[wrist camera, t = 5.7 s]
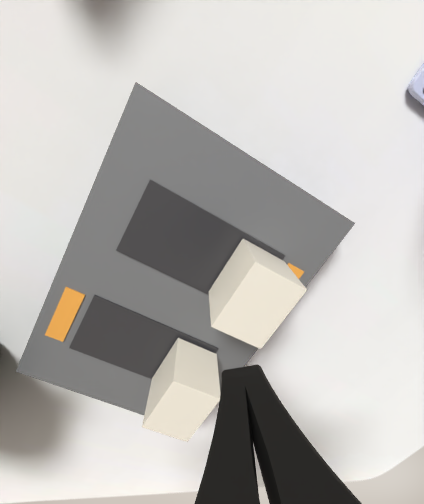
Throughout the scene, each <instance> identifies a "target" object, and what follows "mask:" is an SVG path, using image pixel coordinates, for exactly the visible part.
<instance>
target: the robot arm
mask: <svg viewBox="0 0 424 504" xmlns="http://www.w3.org/2000/svg"><path fill="white" fill-rule="evenodd" d="M423 89H424V64H423V65H422V66H421V68H420V69H419V71H418V72H417V73H416V75H415V76H414V78H413V79H412V80H411V82H410V84H409V87H408V90H409V93H410V94H411V95H412V96H413V97H414V98H415V99H416V100H418V101H419V102H420V103H421V104H422V105H423V106H424V94H423ZM253 443H254V447H255V451H256V455H257V458H258V462H259V466H260V469H261V473H262V477H263V481H264V484H265V488H266V491H267V495H268V499H269V503H270V504H361V503H360V501H359V500H358V499H357V498H356V497H355V496H354V495H353V494H352V492H351V491H350V490H349V489H348V488H347V487H346V486H345V484H344V483H343V482H342V481H341V480H340V479H339V478H338V476H337V475H336V474H335V473H334V472H333V471H332V469H331V468H330V467H329V466H328V465H327V463H326V462H325V461H324V460H323V458H322V457H321V456H320V455H319V453H318V452H317V451H316V450H315V448H314V447H313V446H312V444H311V443H310V442H309V441H308V439H307V438H306V437H305V435H304V434H303V433H302V431H301V430H300V429H299V427H298V426H297V425H296V423H295V422H294V420H293V419H292V417H291V416H290V415H289V413H288V412H287V410H286V409H285V407H284V406H283V404H282V403H281V401H280V400H279V398H278V397H277V395H276V394H275V392H274V390H273V389H272V387H271V385H270V384H269V382H268V380H267V378H266V376H265V374H264V372H263V370H262V368H261V367H260V366H259V365H252V366H246V367H240V368H233V369H227V370H224V371H223V372H222V383H221V395H220V402H219V409H218V414H217V419H216V425H215V430H214V435H213V439H212V443H211V447H210V451H209V455H208V459H207V463H206V467H205V470H204V474H203V478H202V481H201V484H200V488H199V491H198V494H197V497H196V501H195V504H260V501H259V494H258V485H257V476H256V466H255V457H254V448H253Z"/></svg>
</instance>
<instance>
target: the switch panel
mask: <svg viewBox="0 0 424 504" xmlns="http://www.w3.org/2000/svg"><path fill="white" fill-rule="evenodd" d="M354 224H355V223H354V222H352V221H351V220H349V219H348V218H346V217H345V216H343V215H341V214H340V213H338V212H337V211H335V210H334V209H332V208H331V207H329V206H327V205H326V204H324V203H323V202H321V201H320V200H318V199H317V198H315V197H313V196H312V195H310V194H309V193H307V192H306V191H304V190H303V189H301V188H300V187H298V186H296V185H295V184H293V183H292V182H290V181H289V180H287V179H286V178H284V177H282V176H281V175H279V174H278V173H276V172H275V171H273V170H272V169H270V168H268V167H267V166H265V165H264V164H262V163H261V162H259V161H258V160H256V159H254V158H253V157H251V156H250V155H248V154H247V153H245V152H244V151H242V150H241V149H239V148H237V147H236V146H234V145H233V144H231V143H230V142H228V141H227V140H225V139H223V138H222V137H220V136H219V135H217V134H216V133H214V132H213V131H211V130H209V129H208V128H206V127H205V126H203V125H202V124H200V123H199V122H197V121H195V120H194V119H192V118H191V117H189V116H188V115H186V114H185V113H183V112H182V111H180V110H178V109H177V108H175V107H174V106H172V105H171V104H169V103H168V102H166V101H164V100H163V99H161V98H160V97H158V96H157V95H155V94H154V93H152V92H150V91H149V90H147V89H146V88H144V87H143V86H141V85H140V84H138V83H137V82H136V83H135V85H134V88H133V90H132V92H131V95H130V97H129V100H128V102H127V104H126V107H125V109H124V112H123V114H122V116H121V119H120V121H119V124H118V126H117V129H116V131H115V133H114V136H113V138H112V141H111V143H110V145H109V148H108V150H107V153H106V155H105V157H104V160H103V162H102V165H101V167H100V170H99V172H98V174H97V177H96V179H95V182H94V184H93V186H92V189H91V191H90V194H89V196H88V198H87V201H86V203H85V206H84V208H83V211H82V213H81V215H80V218H79V220H78V223H77V225H76V227H75V230H74V232H73V235H72V237H71V239H70V242H69V244H68V247H67V249H66V252H65V254H64V256H63V259H62V261H61V264H60V266H59V268H58V271H57V273H56V276H55V278H54V280H53V283H52V285H51V288H50V290H49V293H48V295H47V297H46V300H45V302H44V305H43V307H42V309H41V312H40V314H39V317H38V319H37V321H36V324H35V326H34V329H33V331H32V334H31V336H30V338H29V341H28V343H27V346H26V348H25V350H24V353H23V355H22V358H21V360H20V362H19V365H18V367H17V370H16V372H19V373H21V374H24V375H27V376H30V377H33V378H36V379H39V380H42V381H45V382H48V383H51V384H54V385H57V386H60V387H63V388H65V389H68V390H71V391H74V392H77V393H80V394H83V395H86V396H89V397H92V398H95V399H98V400H101V401H104V402H107V403H110V404H112V405H115V406H118V407H121V408H124V409H127V410H130V411H133V412H136V413H139V414H142V415H145V410H146V405H147V400H148V396H149V391H150V386H151V381H152V378H153V376H154V374H155V373H156V371H157V370H158V368H159V367H160V365H161V364H162V362H163V360H164V359H165V357H166V356H167V354H168V353H169V351H170V350H171V348H172V346H173V345H174V343H175V342H176V340H177V339H178V338H180V339H182V340H185V341H187V342H189V343H192V344H194V345H196V346H199V347H201V348H203V349H206V350H208V351H210V352H213V353H215V354H217V362H218V373H219V384H220V395H221V383H222V372H223V371H224V370H227V369H233V368H240V367H244V366H245V365H246V363H247V362H248V361H249V359H250V358H251V357H252V356H253V354H254V353H255V352H256V350H257V349H258V348H257V347H255V346H253V345H250V344H248V343H246V342H244V341H242V340H239V339H237V338H235V337H233V336H230V335H228V334H226V333H224V332H222V331H219V330H217V329H215V328H213V327H211V318H210V304H209V290H210V289H211V287H212V285H213V284H214V282H215V281H216V279H217V278H218V276H219V275H220V273H221V271H222V270H223V268H224V267H225V265H226V264H227V262H228V261H229V259H230V257H231V256H232V254H233V253H234V251H235V250H236V248H237V247H238V245H239V243H240V242H241V240H242V239H245V240H247V241H249V242H250V243H252V244H254V245H256V246H258V247H259V248H261V249H263V250H265V251H267V252H268V253H270V254H272V255H274V256H276V257H277V258H279V259H281V260H283V261H284V262H285V263H286V264H287V265H288V266H289V268H290V269H291V270H292V271H293V273H294V274H295V275H296V276H297V278H298V279H299V280H300V281H301V283H302V284H303V285H304V286H305V287H306V286H307V285H308V283H309V282H310V281H311V279H312V278H313V277H314V276H315V274H316V273H317V272H318V270H319V269H320V268H321V267H322V265H323V264H324V263H325V261H326V260H327V259H328V258H329V256H330V255H331V254H332V252H333V251H334V250H335V249H336V247H337V246H338V245H339V243H340V242H341V241H342V240H343V238H344V237H345V236H346V234H347V233H348V232H349V231H350V229H351V228H352V227H353V225H354Z"/></svg>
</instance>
